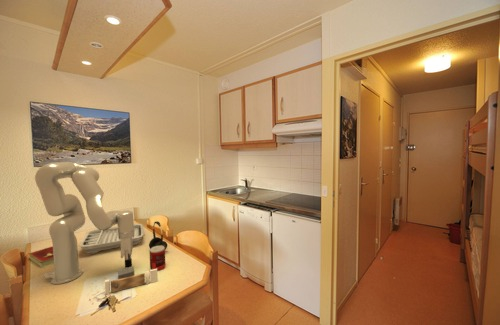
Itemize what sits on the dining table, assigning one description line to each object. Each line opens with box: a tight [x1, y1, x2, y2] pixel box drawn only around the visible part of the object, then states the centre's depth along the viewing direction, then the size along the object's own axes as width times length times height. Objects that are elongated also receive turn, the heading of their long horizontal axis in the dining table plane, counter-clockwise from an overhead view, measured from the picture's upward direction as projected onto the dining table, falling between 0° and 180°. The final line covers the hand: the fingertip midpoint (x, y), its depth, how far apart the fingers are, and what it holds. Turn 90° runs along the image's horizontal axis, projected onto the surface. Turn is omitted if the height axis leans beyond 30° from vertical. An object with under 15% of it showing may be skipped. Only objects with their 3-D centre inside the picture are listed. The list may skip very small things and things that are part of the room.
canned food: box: [149, 246, 166, 272], centre depth 117 cm, size 8×8×11 cm
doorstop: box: [117, 266, 135, 279], centre depth 108 cm, size 7×5×4 cm
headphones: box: [148, 221, 168, 251], centre depth 136 cm, size 9×15×20 cm, turn 44°
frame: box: [104, 269, 159, 296], centre depth 101 cm, size 22×2×6 cm, turn 116°
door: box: [110, 272, 146, 293], centre depth 100 cm, size 14×2×5 cm, turn 116°
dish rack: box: [78, 223, 145, 255], centre depth 150 cm, size 32×37×8 cm
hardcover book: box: [28, 245, 54, 268], centre depth 129 cm, size 12×21×4 cm, turn 60°
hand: (128, 266), depth 115 cm, fingers closed
